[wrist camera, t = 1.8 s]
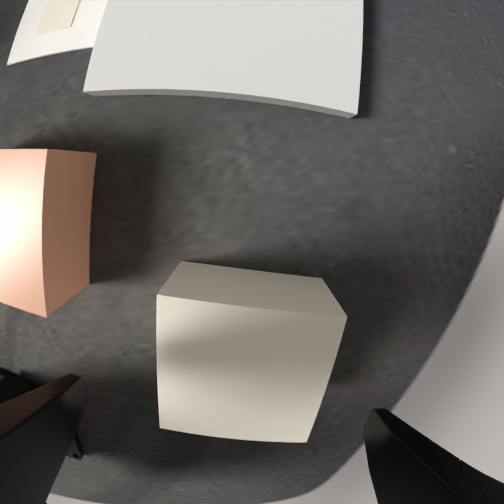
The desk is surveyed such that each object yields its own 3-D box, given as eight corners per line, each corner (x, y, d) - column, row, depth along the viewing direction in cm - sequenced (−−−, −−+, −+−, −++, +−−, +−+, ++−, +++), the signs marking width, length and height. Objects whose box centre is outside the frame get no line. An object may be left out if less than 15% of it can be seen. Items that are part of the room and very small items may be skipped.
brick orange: (90, 282, 13) (46, 317, 9) (5, 262, 13) (-42, 285, 9) (98, 153, 12) (47, 149, 8) (8, 151, 12) (-46, 151, 8)
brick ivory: (295, 386, 15) (306, 442, 11) (177, 373, 15) (159, 427, 11) (320, 277, 13) (347, 316, 10) (182, 259, 13) (156, 294, 9)
